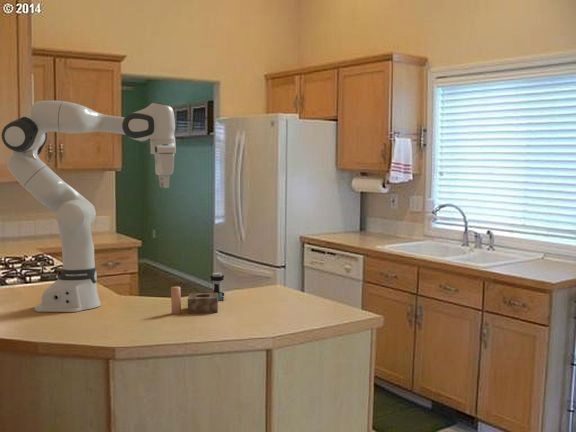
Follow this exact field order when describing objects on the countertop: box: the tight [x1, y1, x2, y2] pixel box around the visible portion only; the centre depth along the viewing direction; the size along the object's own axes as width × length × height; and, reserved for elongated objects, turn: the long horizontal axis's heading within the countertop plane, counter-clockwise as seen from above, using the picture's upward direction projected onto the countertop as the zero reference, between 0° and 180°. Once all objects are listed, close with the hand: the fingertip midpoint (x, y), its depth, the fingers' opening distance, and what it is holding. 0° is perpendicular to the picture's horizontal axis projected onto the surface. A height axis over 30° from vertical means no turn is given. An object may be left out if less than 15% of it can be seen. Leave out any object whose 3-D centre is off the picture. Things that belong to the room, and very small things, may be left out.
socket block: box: [187, 292, 219, 314], centre depth 219 cm, size 10×10×5 cm
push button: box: [209, 272, 227, 301], centre depth 236 cm, size 7×5×10 cm
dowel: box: [170, 286, 182, 315], centre depth 214 cm, size 3×3×9 cm
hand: (164, 187), depth 224 cm, fingers open, 8 cm apart
